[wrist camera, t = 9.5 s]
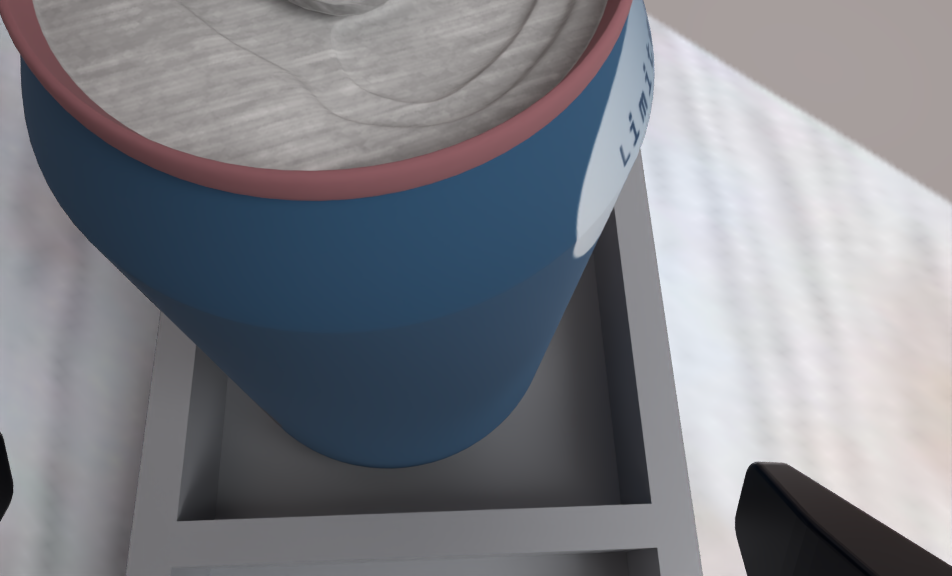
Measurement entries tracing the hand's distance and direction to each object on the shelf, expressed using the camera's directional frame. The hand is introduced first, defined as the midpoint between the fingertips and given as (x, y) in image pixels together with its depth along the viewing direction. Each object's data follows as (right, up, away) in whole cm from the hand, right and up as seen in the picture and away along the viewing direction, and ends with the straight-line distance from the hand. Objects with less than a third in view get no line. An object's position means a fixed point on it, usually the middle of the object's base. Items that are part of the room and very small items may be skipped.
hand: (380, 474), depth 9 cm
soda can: (-1, +1, +9) cm, 9 cm away
